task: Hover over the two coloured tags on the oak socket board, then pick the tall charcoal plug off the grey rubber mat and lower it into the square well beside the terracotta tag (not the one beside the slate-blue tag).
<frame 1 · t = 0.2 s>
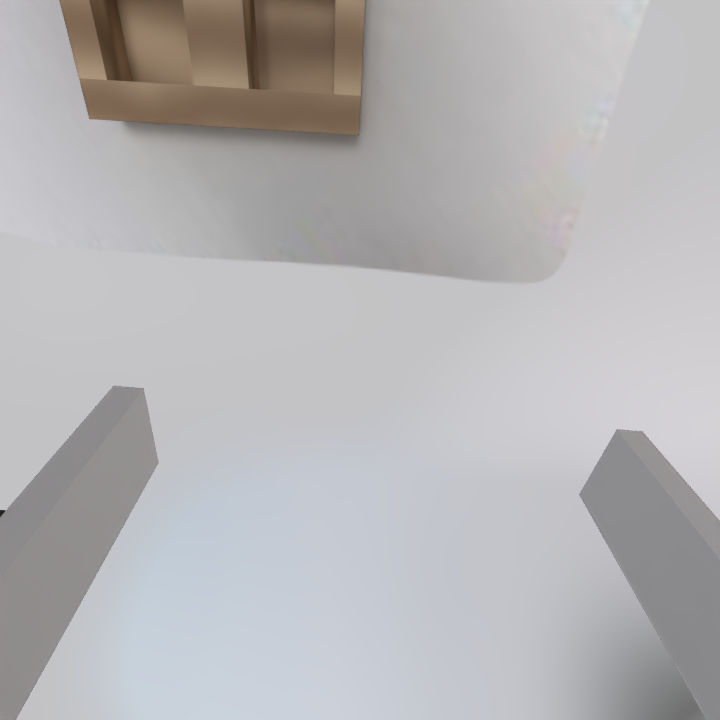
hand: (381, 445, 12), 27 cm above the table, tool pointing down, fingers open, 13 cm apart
socket board: (231, 23, 28), on the table
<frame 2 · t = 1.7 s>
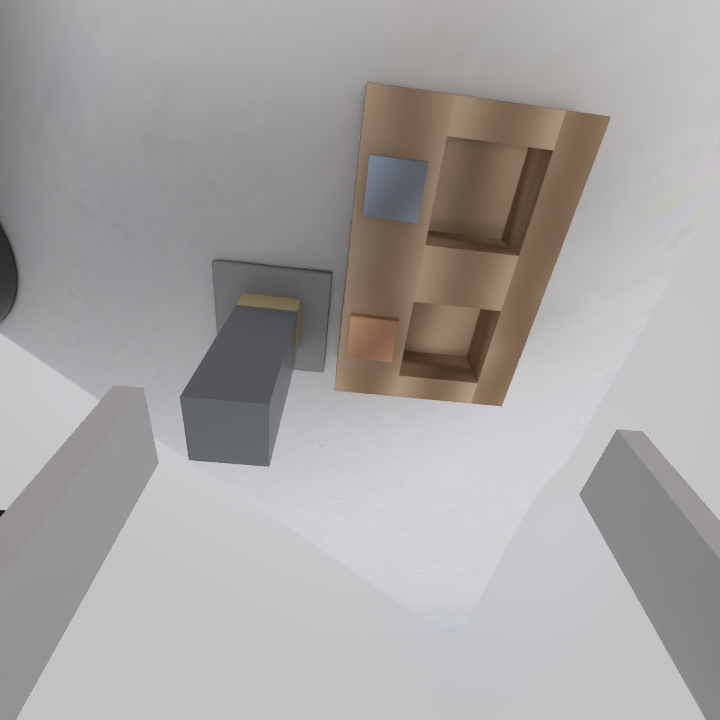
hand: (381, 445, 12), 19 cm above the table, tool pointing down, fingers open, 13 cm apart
mat: (272, 319, 30), on the table
socket board: (437, 256, 28), on the table
plug: (271, 321, 30), resting on mat
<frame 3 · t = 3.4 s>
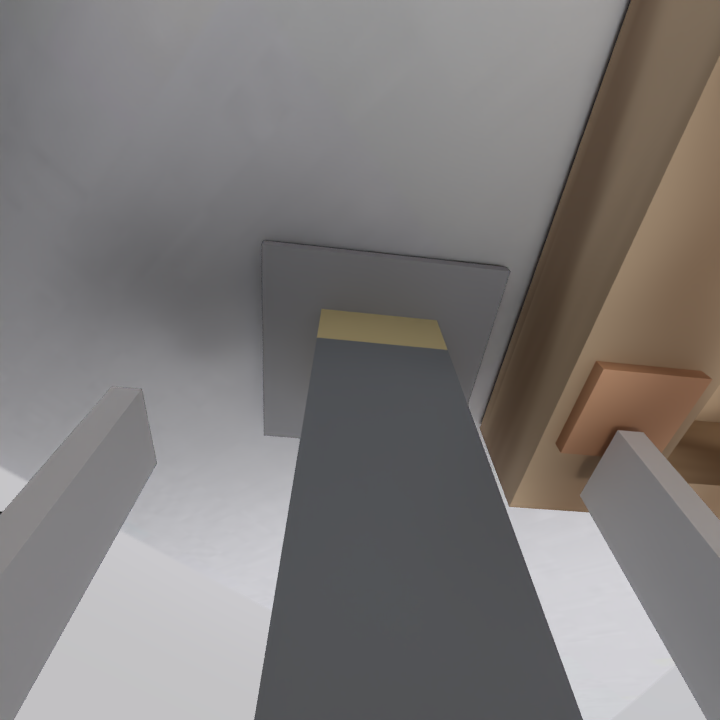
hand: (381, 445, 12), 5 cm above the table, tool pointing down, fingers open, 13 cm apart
mat: (371, 357, 16), on the table
plug: (372, 363, 15), resting on mat
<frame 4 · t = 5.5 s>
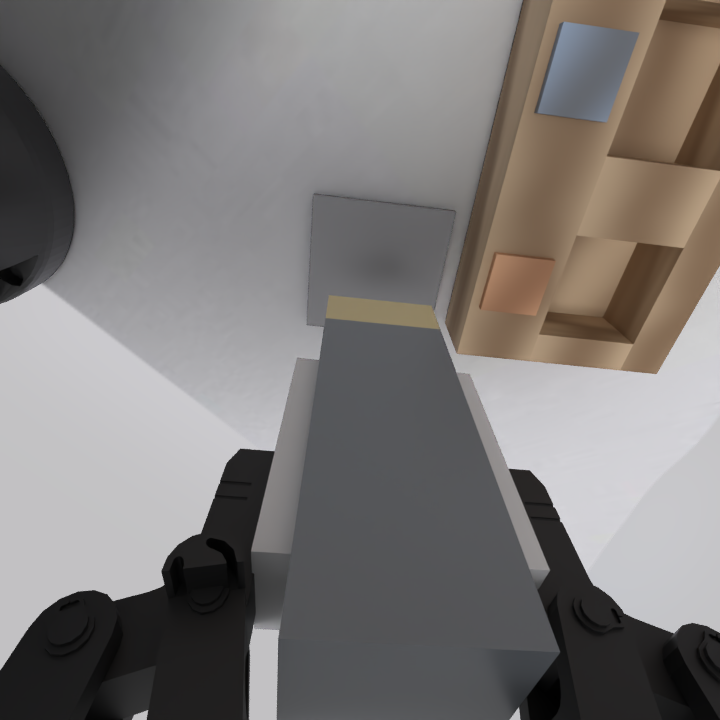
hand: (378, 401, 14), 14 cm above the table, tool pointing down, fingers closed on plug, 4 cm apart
mat: (375, 270, 25), on the table
socket board: (587, 188, 23), on the table
plug: (373, 345, 17), point 10 cm above the table, touching gripper
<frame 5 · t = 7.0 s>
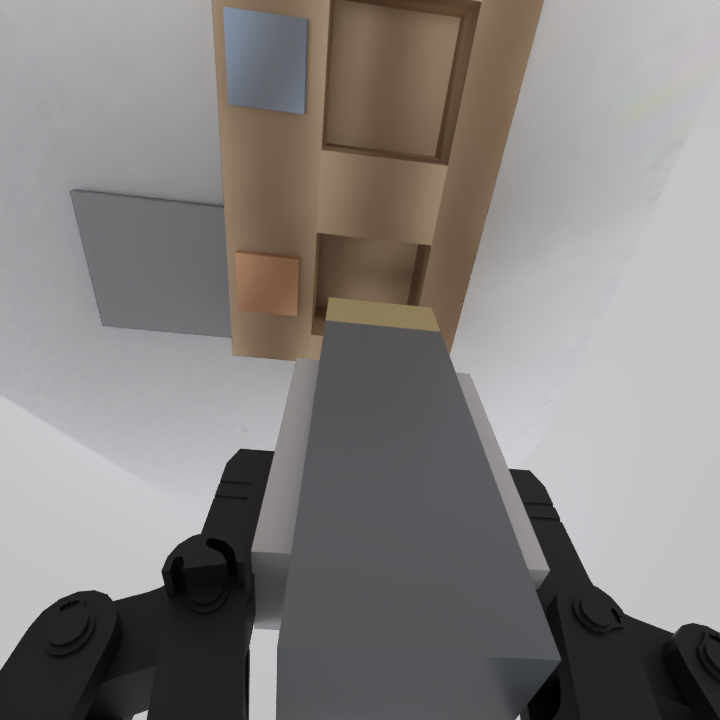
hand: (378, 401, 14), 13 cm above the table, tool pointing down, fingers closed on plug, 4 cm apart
mat: (161, 269, 24), on the table
socket board: (357, 183, 22), on the table
plug: (373, 347, 17), point 9 cm above the table, touching gripper
when the fingers open (5 cm above the table, at t = 8.7 s): plug stays where it is, resting on socket board.
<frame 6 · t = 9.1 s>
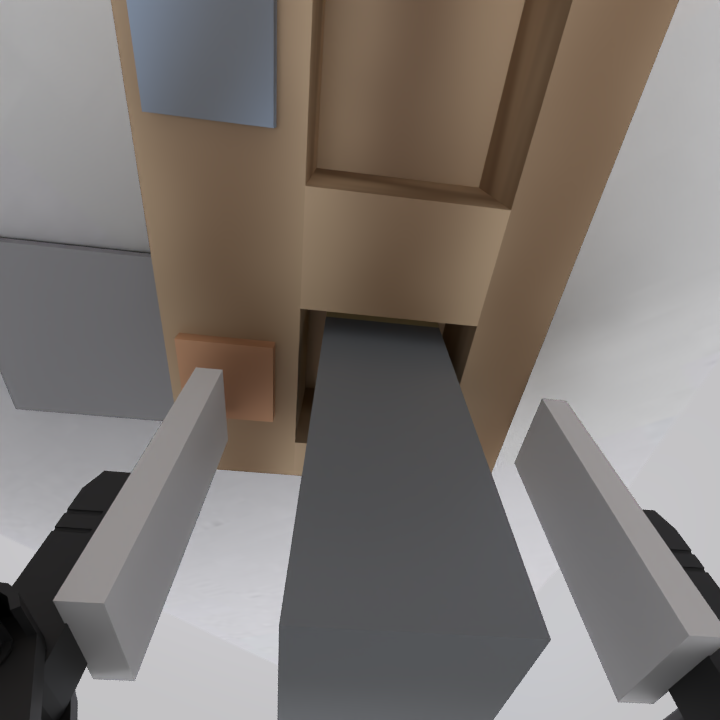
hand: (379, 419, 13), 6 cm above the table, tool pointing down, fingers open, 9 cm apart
mat: (90, 337, 18), on the table
socket board: (362, 223, 15), on the table
plug: (373, 343, 17), resting on socket board
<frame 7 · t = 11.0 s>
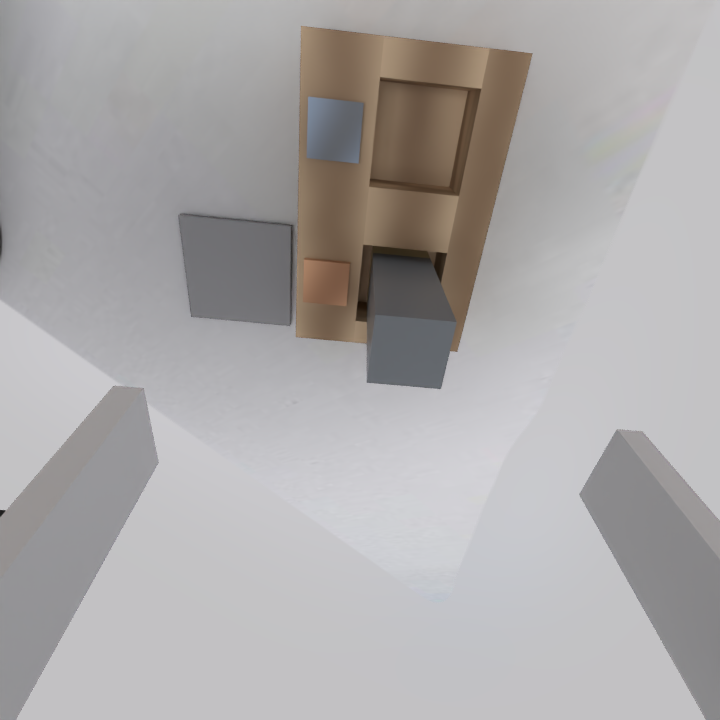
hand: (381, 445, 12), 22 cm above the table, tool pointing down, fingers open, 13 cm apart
mat: (239, 272, 32), on the table
socket board: (390, 206, 29), on the table
plug: (395, 273, 31), resting on socket board
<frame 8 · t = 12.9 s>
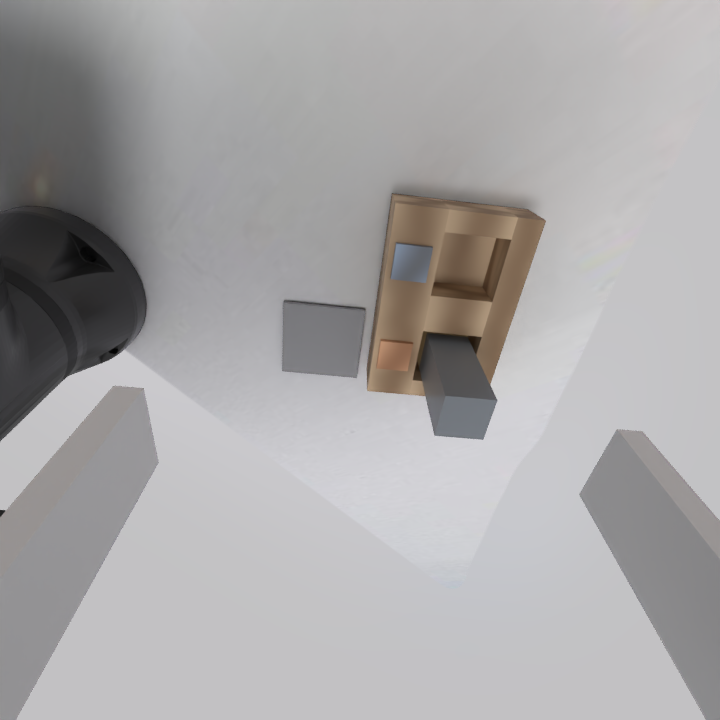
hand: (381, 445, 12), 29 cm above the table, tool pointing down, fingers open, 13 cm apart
mat: (322, 340, 43), on the table
socket board: (438, 297, 40), on the table
plug: (439, 342, 43), resting on socket board
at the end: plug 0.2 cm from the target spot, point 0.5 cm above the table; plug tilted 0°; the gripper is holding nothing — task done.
